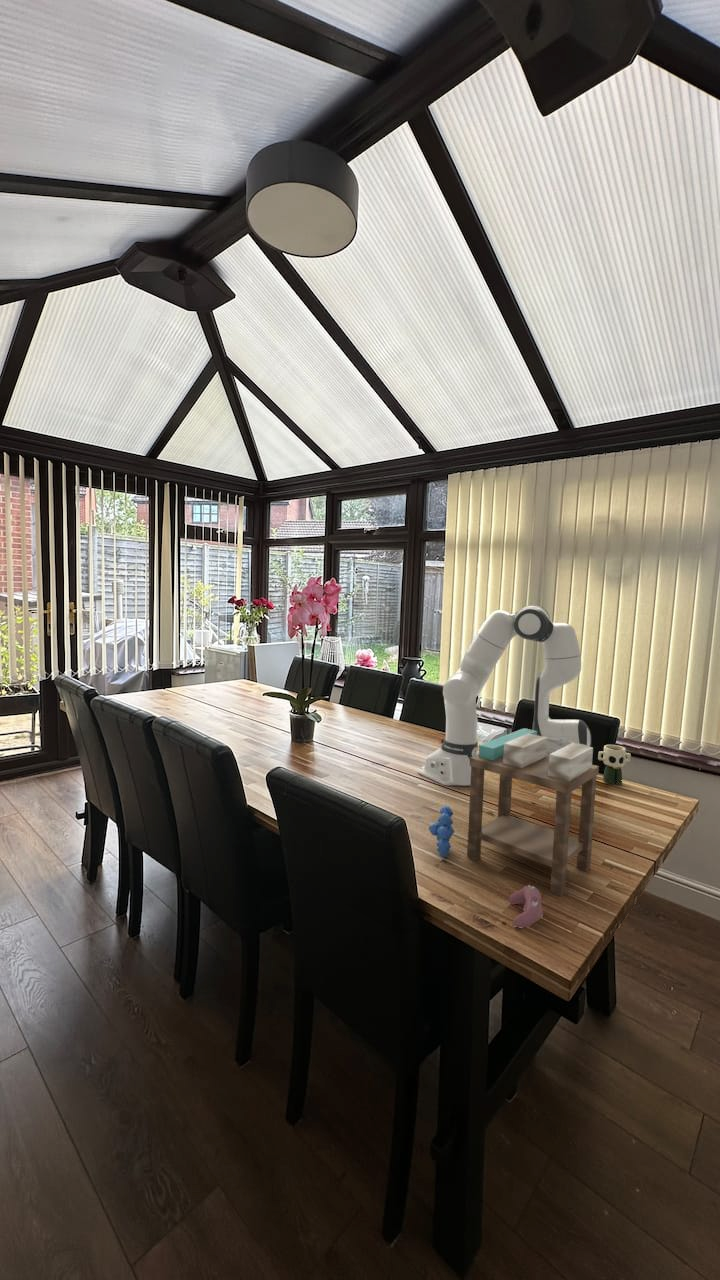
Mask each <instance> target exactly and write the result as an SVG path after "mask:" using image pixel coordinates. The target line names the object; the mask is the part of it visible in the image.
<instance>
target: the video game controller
mask: <svg viewBox="0 0 720 1280" xmlns="http://www.w3.org/2000/svg"><path fill="white" fill-rule="evenodd" d="M509 902H510V903H514V904H518V905H522V904H524V905H523V907H522V910H523V912H522V913H520V914H519V915H517V916H515V917H514V918H513V920H512V926H513V925H514V926H516V927H526V928H528V927H530V926H532V925H533V924H534V923H537V922H539V920H540V919H542V918H543V915H544V913H543V909H544V908H543V905H542V895H541V892H540V890H539V889H538V887H535V886H533V885H532V886H531V885H530V884H528V885H525V886H524V887H522V888H520V890H517V891H515V892H513V893H512V894H511V895H510V897H509ZM514 904H513V905H514ZM514 926H513V927H514Z"/></svg>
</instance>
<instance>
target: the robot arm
mask: <svg viewBox="0 0 720 1280" xmlns="http://www.w3.org/2000/svg"><path fill="white" fill-rule="evenodd" d="M516 636H519V637H520V638H522V639H524V640H527V641H533V642H534V641H535V642H539V643H541V644H542V646H543V653H544V666H543V669H542V671H541V672H540V673H539V674H537V677H536V682H535V690H534V691H535V692H534V693H535V694H534V710H533V712H534V713H533V722H532V727H531V728H532V729H531V730H535V731H537V735H538V736H543V737H547V750H546V754H551V753H553V752H555V751H557V750H559V749H561V748H563V747H565V746H567V745H569V744H571V743H575V744H579V745H584V746H588V747H592V742H593V740H592V739H593V738H592V731H591V730H590V727H589V726H588V725H587V724H586V722H585V721H584V720H582V719H571V718H570V719H568V718H567V719H566V718H565V719H555V718H554V719H552V718H551V717H550V716H549V713H550V711H549V709H550V695H551V693H552V691H554V690H555V689H557V688H559V687H562V686H564V685H567V684H569V683H571V682H572V681H574V680H575V679H576V678H577V677H578V676H579V675H580V673H581V671H582V656H581V649H580V644H579V639H578V636H577V633H576V630H575V628H574V627H573V626H572V625H571V624H569V623H566V622H553V620H551V618H550V614H549V612H548V611H547V610H546V609H545V608H544V607H542V606H541V605H539V604H538V605H537V604H529V605H526V606H524V607H522V608H521V609H519V610H518V611H517V612H514V613H511V612H508V611H505V610H503V609H501V610H499V609H498V610H495V611H493V612H492V613H490V614H489V616H488V617H487V618H486V619H485V621H484V622H483V624H481V626H480V627H479V628H478V630H477V633H476V634H475V636H474V637H473V639H472V641H471V642H470V644H469V646H467V647H468V648H467V649H466V651H465V653H464V656H463V658H462V660H461V662H460V665H459V667H458V669H457V670H456V672H455V673H454V674H453V675H451V676H449V677H448V678H447V679H446V680H445V682H444V685H443V687H442V696H443V702H444V709H445V710H444V711H445V737H444V738H442V739H441V740H439V742H438V744H439V745H440V744H441V746H440V747H439V748H438V749H436V750H435V751H433V752H432V753H430V754H429V755H427V757H426V759H425V763H424V765H422V766H421V767H420V768H419V769H418V771H417V772H418V774H419V775H421V776H423V777H425V778H427V779H430V780H432V781H435V782H437V783H439V784H441V785H443V786H462V787H463V786H465V787H466V786H470V783H471V766H470V758H471V757H473V756H476V755H478V754H479V742H478V716H477V705H476V704H477V702H476V701H477V697H478V696H479V694H481V692H482V690H483V689H484V687H485V685H486V683H487V681H488V680H489V678H490V676H491V674H492V672H493V671H494V669H495V667H496V665H497V663H498V662H499V660H500V658H501V656H502V655H503V654H504V652H505V650H506V649H507V647H508V646H509V644H510V643H511V641H512V640H513V638H514V637H516Z"/></svg>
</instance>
